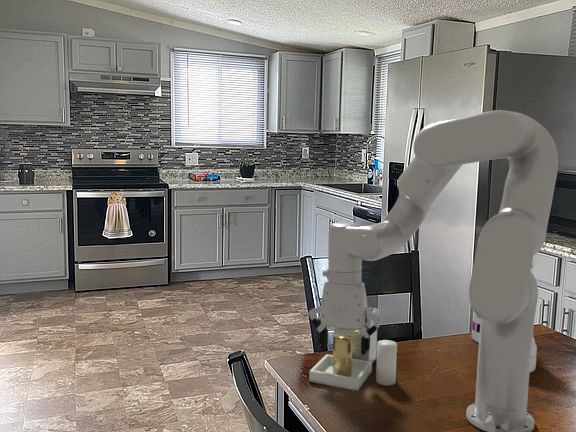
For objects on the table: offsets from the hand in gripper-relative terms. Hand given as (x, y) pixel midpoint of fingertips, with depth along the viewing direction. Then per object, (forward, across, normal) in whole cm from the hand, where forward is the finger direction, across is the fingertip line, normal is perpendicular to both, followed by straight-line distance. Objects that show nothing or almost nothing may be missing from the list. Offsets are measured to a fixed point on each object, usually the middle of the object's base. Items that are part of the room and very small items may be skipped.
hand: (344, 350), depth 132 cm
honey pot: (+7, +34, +26) cm, 44 cm away
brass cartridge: (+6, 0, 0) cm, 6 cm away
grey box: (+6, -1, +11) cm, 13 cm away
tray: (+6, -1, 0) cm, 7 cm away
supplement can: (+7, +28, +41) cm, 50 cm away
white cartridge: (+7, +9, +2) cm, 12 cm away
